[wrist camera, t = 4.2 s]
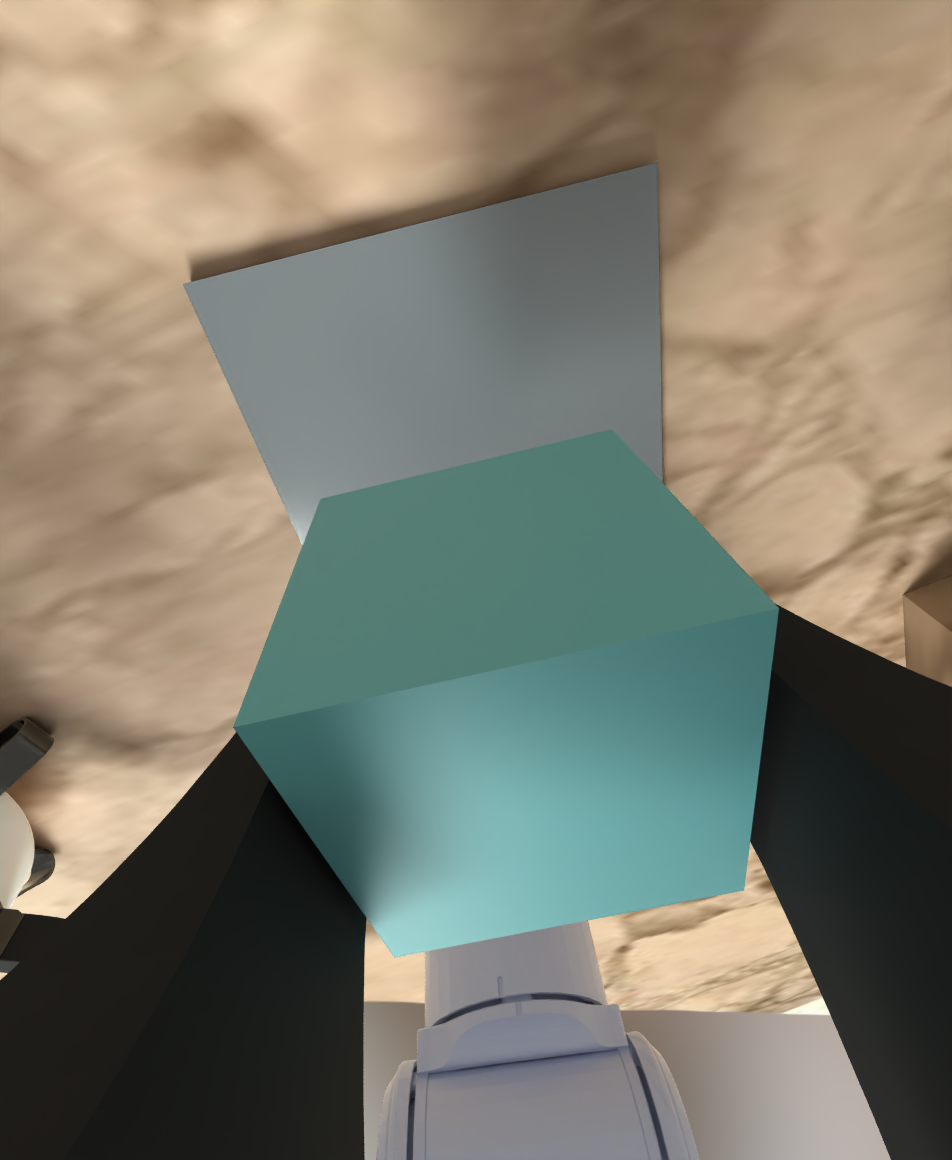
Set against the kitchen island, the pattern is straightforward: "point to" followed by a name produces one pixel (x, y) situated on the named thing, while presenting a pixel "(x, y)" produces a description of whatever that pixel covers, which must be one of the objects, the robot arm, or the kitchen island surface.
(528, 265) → the slate coaster
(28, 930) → the coffee press
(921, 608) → the walnut block
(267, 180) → the kitchen island surface
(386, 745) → the teal block
